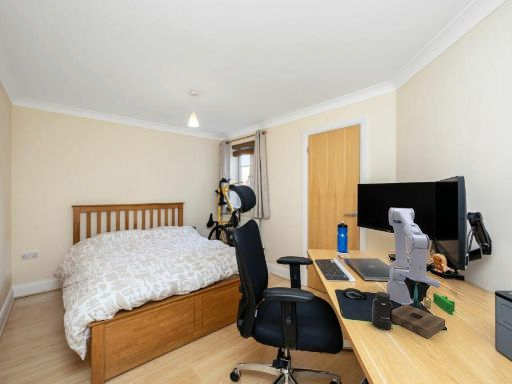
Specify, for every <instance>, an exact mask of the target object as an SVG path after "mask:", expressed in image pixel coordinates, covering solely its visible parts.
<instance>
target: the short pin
mask: <svg viewBox="0 0 512 384" xmlns="http://www.w3.org/2000/svg"><path fill="white" fill-rule="evenodd" d="M431 300H432V298H430V297H426V296H424V299H423V307H424V308H425V309H429V310H430V309H431V307H432V306H431V305H432V303H431V302H432V301H431Z"/></svg>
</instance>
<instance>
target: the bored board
mask: <svg viewBox="0 0 512 384" xmlns="http://www.w3.org/2000/svg"><path fill="white" fill-rule="evenodd" d="M392 323H394V324H396V325H398V326H401V327H403V328H404V329H407V330H409V331H411V332H413V333H415V334H417V335H419V336H421V337H423V338H426V339H427V340H429V339H430V338H431V337H433V336H434V335H436V334H438V333H440V331H442V330H444V329H445V328H446V318H445V319H444V318H442V317H440V316H438V315H434V314H432V313H430V312H427V311H425V310H423V309H420V308H417V307H415V306H413V305H411V304H409V305H408V304H405V305H401V306H399V307H396V308H394V309H393V310H392Z"/></svg>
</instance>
